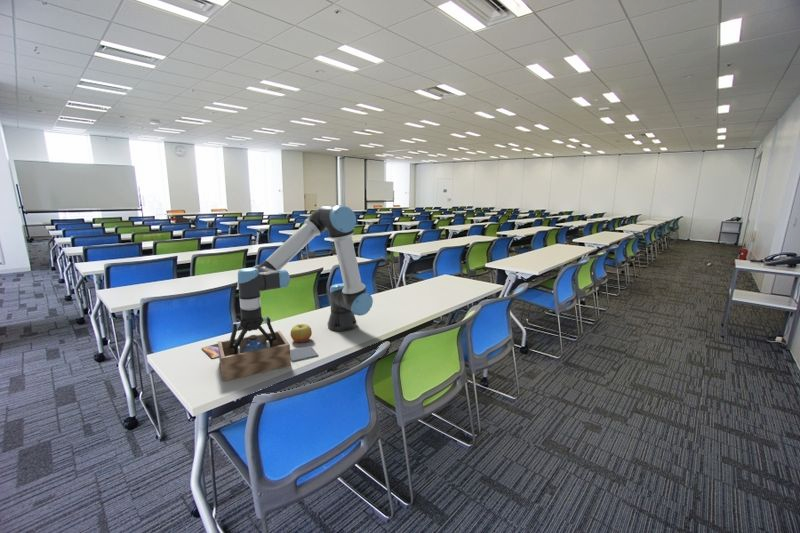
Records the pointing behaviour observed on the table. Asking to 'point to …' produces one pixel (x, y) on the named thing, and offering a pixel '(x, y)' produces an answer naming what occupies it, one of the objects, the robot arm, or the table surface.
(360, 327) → the table surface
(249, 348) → the perfume bottle
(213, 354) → the smartphone
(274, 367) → the crate
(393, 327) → the table surface
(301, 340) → the apple
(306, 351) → the slate mat
